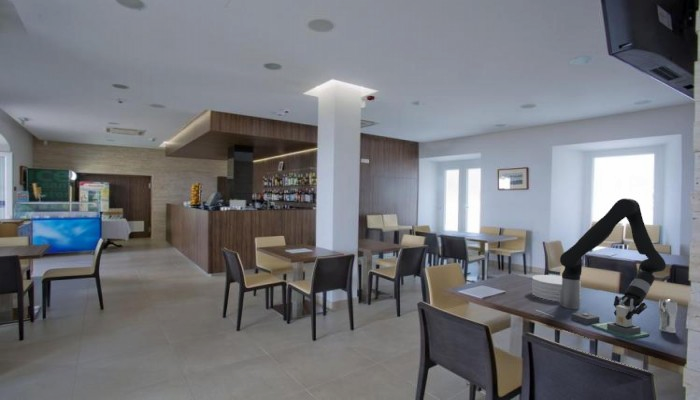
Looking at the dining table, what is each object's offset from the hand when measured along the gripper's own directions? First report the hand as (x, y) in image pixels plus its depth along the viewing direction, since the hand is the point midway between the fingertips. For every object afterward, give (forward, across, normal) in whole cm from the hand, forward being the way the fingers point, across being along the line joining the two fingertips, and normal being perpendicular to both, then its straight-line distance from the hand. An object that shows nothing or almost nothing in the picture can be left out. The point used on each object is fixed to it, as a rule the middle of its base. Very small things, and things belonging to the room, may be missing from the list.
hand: (621, 317), depth 174 cm
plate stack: (-13, -58, +25) cm, 65 cm away
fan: (+6, -18, +5) cm, 20 cm away
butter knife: (+13, -28, -1) cm, 31 cm away
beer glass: (-12, +6, +23) cm, 27 cm away
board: (+4, -2, +7) cm, 8 cm away
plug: (+2, 0, +4) cm, 5 cm away
